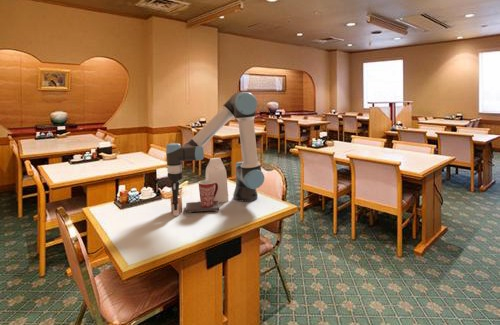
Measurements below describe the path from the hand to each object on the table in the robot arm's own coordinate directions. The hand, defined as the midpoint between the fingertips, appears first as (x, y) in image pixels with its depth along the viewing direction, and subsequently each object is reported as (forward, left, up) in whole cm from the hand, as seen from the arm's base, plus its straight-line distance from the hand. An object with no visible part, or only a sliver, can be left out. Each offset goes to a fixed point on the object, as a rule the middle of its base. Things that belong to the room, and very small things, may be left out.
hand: (176, 212), depth 178 cm
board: (-14, -3, 0) cm, 15 cm away
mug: (-18, -4, +2) cm, 19 cm away
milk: (-23, -19, -1) cm, 30 cm away
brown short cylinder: (0, 0, 0) cm, 0 cm away
